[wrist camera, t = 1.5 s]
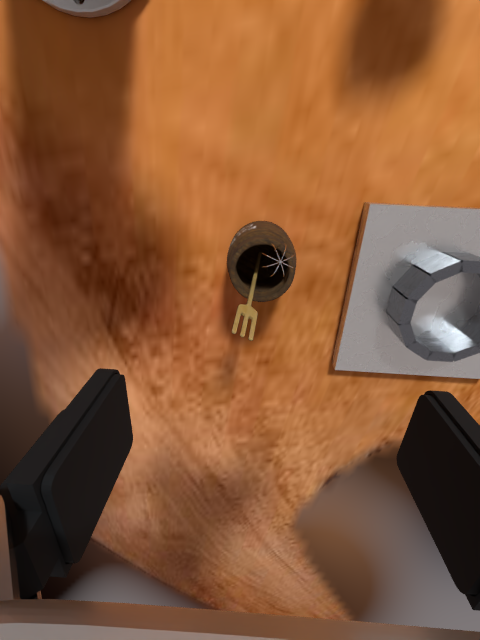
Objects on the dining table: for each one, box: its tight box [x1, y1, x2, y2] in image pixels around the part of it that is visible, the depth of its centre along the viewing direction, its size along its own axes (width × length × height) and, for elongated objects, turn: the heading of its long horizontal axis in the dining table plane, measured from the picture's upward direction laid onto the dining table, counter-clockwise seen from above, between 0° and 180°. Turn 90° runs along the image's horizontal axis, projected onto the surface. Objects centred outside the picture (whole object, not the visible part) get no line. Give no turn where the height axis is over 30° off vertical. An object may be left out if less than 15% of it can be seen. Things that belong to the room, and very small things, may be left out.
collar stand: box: [332, 202, 480, 379], centre depth 29 cm, size 17×17×4 cm
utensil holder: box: [227, 221, 296, 341], centre depth 24 cm, size 6×6×12 cm
